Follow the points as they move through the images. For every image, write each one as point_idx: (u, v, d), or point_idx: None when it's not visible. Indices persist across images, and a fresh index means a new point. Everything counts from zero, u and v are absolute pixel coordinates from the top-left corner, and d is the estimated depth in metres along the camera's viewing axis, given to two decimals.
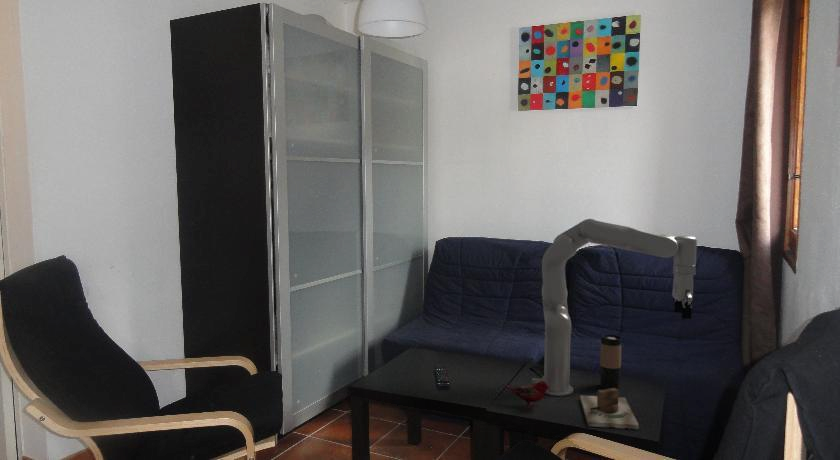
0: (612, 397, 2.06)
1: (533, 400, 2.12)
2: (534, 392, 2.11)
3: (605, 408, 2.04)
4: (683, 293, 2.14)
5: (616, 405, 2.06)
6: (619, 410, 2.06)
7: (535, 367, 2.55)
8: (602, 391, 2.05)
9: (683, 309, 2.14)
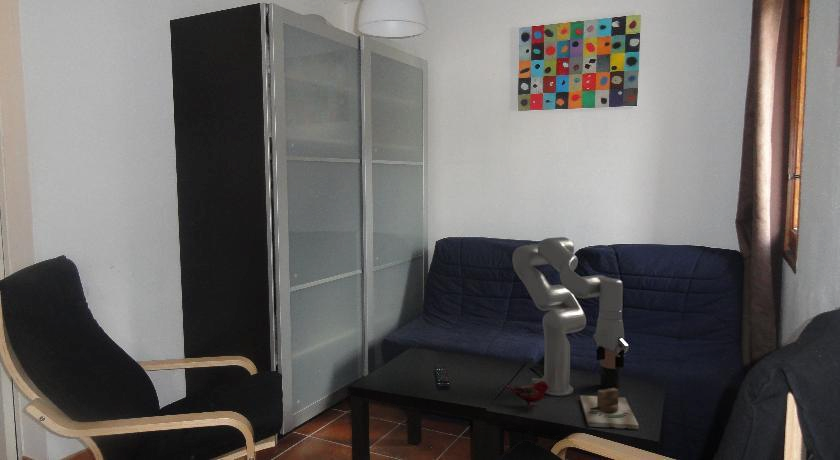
0: (612, 397, 2.06)
1: (533, 400, 2.12)
2: (534, 392, 2.11)
3: (605, 408, 2.04)
4: (616, 341, 1.99)
5: (616, 405, 2.06)
6: (619, 410, 2.06)
7: (535, 367, 2.55)
8: (602, 391, 2.05)
9: (617, 358, 2.00)
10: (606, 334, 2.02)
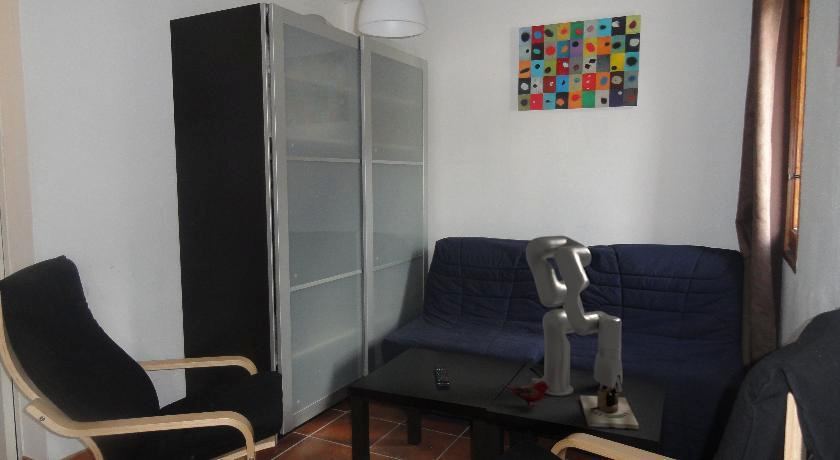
0: None
1: (533, 400, 2.12)
2: (534, 392, 2.11)
3: (605, 408, 2.04)
4: (615, 379, 2.01)
5: (616, 405, 2.06)
6: (619, 410, 2.06)
7: (535, 367, 2.55)
8: (602, 391, 2.05)
9: (608, 396, 2.04)
10: (604, 372, 2.03)
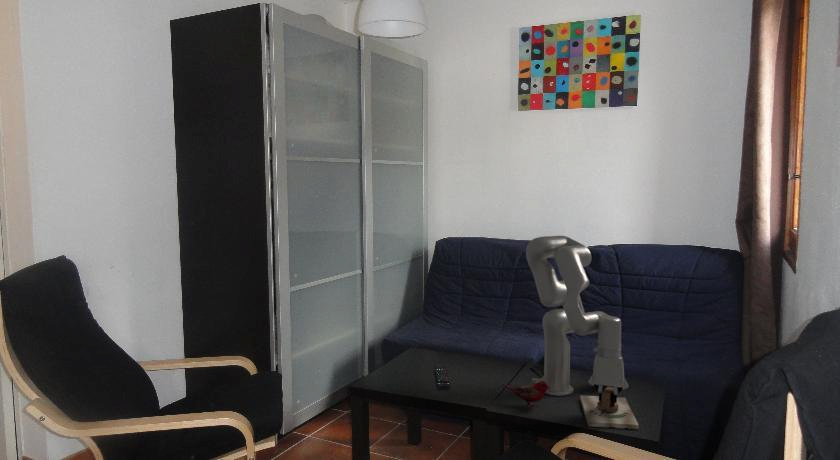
0: None
1: (533, 400, 2.12)
2: (534, 392, 2.11)
3: (611, 409, 2.03)
4: (623, 377, 2.03)
5: (615, 403, 2.07)
6: (619, 410, 2.06)
7: (535, 367, 2.55)
8: (606, 392, 2.04)
9: (614, 396, 2.04)
10: (612, 372, 2.02)
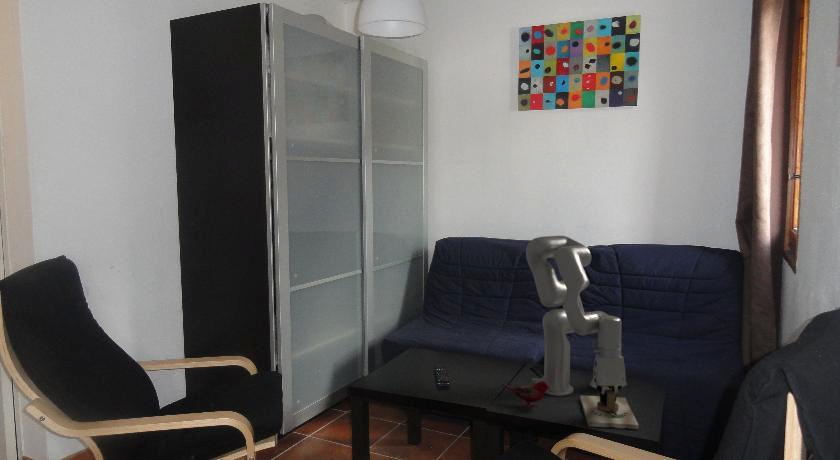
0: None
1: (533, 400, 2.12)
2: (534, 392, 2.11)
3: (616, 408, 2.04)
4: None
5: None
6: (619, 410, 2.06)
7: (535, 367, 2.55)
8: (611, 393, 2.04)
9: None
10: (616, 372, 2.03)
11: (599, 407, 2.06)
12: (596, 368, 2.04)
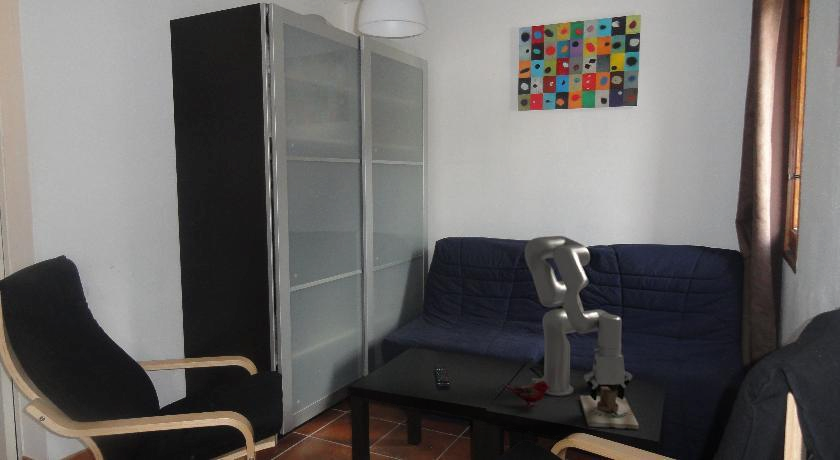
0: None
1: (533, 400, 2.12)
2: (534, 392, 2.11)
3: (616, 408, 2.04)
4: None
5: None
6: (619, 410, 2.06)
7: (535, 367, 2.55)
8: (611, 392, 2.04)
9: None
10: (615, 370, 2.03)
11: (599, 407, 2.06)
12: (596, 367, 2.04)
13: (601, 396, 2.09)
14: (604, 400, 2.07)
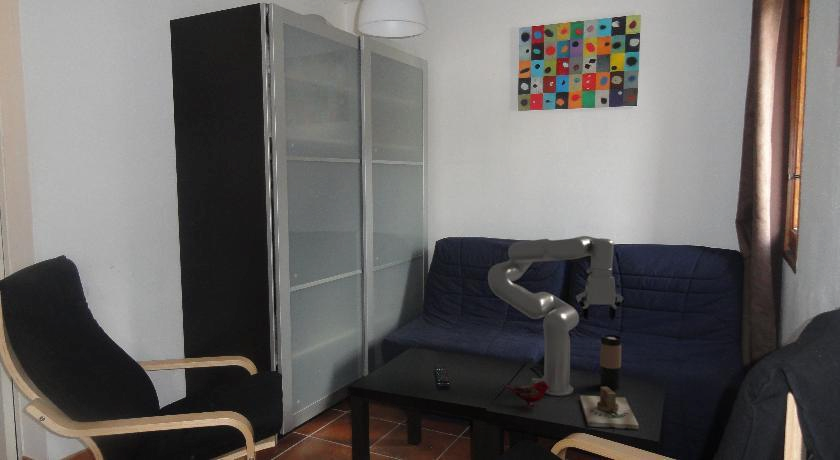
0: None
1: (533, 400, 2.12)
2: (534, 392, 2.11)
3: (617, 408, 2.04)
4: None
5: None
6: (619, 410, 2.06)
7: (535, 367, 2.55)
8: (611, 392, 2.04)
9: None
10: (606, 291, 2.13)
11: (599, 407, 2.06)
12: (587, 287, 2.15)
13: (601, 396, 2.09)
14: (604, 400, 2.07)
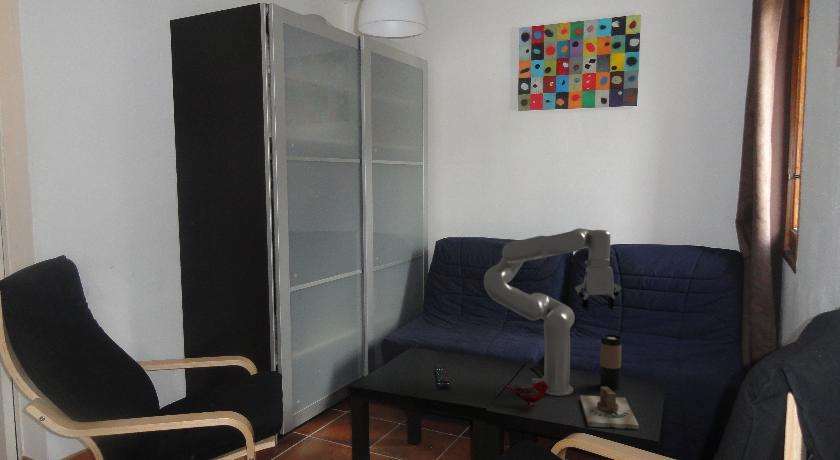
0: None
1: (533, 400, 2.12)
2: (534, 392, 2.11)
3: (617, 408, 2.04)
4: None
5: None
6: (619, 410, 2.06)
7: (536, 367, 2.55)
8: (611, 392, 2.04)
9: None
10: (605, 281, 2.16)
11: (599, 407, 2.06)
12: (586, 278, 2.17)
13: (601, 396, 2.09)
14: (604, 400, 2.07)
